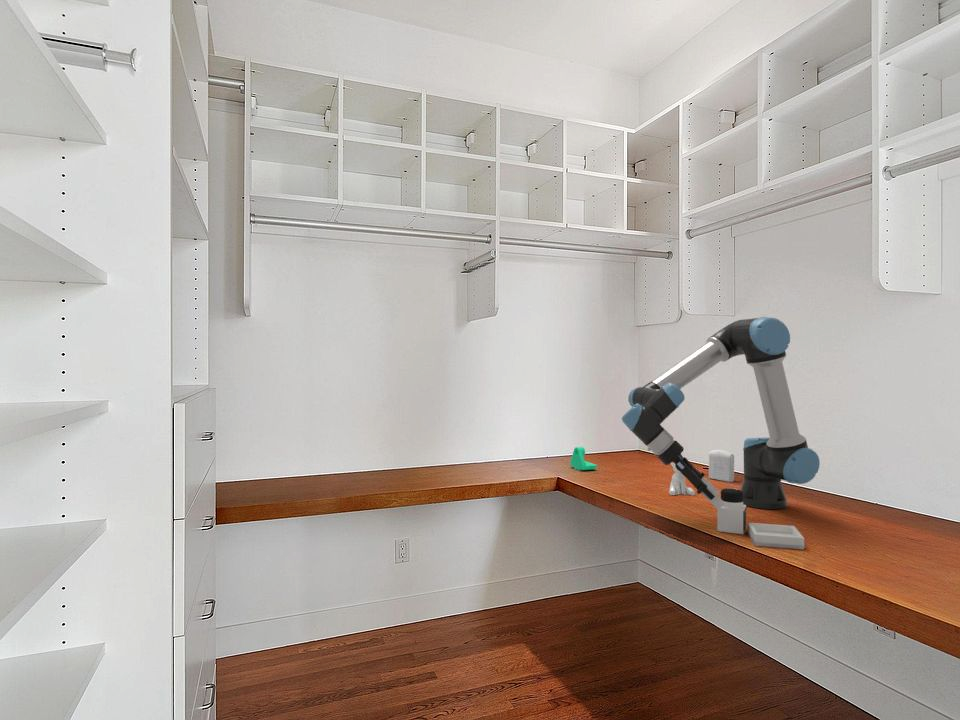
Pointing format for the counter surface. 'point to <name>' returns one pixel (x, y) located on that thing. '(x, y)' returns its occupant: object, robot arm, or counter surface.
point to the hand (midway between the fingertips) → (719, 501)
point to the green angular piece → (580, 460)
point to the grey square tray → (775, 536)
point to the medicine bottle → (732, 512)
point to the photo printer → (721, 465)
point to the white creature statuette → (679, 484)
